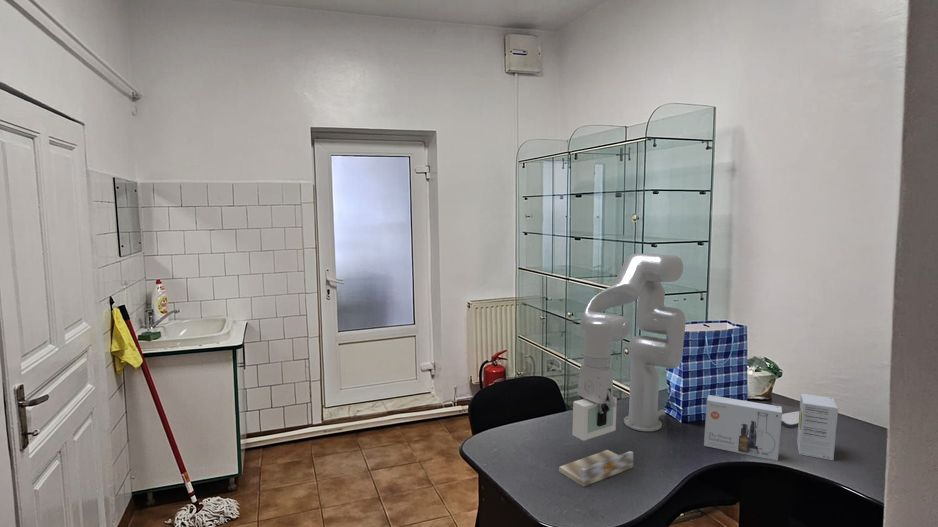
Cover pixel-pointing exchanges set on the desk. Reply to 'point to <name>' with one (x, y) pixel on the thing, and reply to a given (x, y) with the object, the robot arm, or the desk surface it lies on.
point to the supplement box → (817, 426)
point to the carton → (591, 419)
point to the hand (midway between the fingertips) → (594, 421)
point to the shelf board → (597, 467)
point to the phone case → (790, 419)
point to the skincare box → (743, 427)
